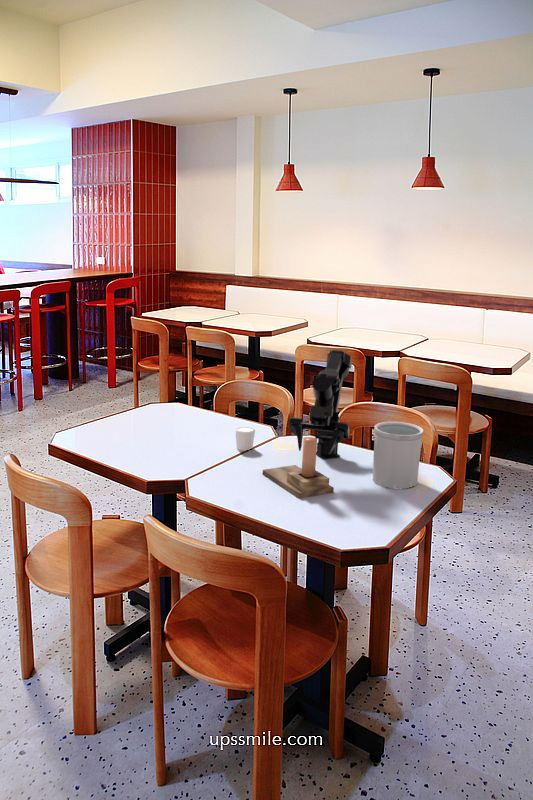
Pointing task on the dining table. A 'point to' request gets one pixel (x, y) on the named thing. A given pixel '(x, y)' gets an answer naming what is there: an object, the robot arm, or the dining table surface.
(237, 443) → the white cup
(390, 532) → the dining table surface
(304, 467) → the plug
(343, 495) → the dining table surface
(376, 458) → the utensil holder
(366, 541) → the dining table surface
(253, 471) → the dining table surface
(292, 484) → the wooden socket base
